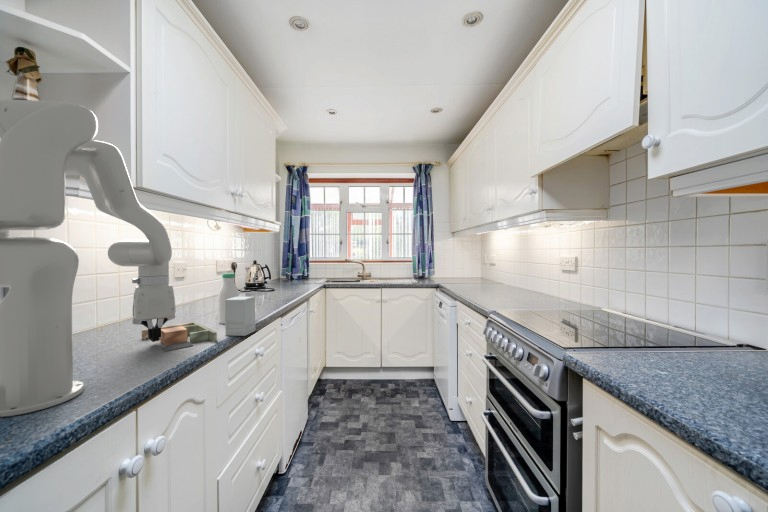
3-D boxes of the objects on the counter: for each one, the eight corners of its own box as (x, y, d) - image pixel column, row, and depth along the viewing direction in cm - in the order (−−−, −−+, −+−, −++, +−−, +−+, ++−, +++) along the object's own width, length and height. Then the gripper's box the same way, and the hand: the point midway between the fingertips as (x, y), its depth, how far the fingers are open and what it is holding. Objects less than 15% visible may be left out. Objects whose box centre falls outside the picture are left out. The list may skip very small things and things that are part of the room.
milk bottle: (240, 322, 122) (239, 273, 122) (218, 325, 118) (218, 274, 118) (238, 319, 129) (238, 272, 129) (217, 321, 125) (217, 273, 125)
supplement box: (256, 330, 110) (256, 296, 110) (244, 336, 103) (244, 299, 102) (237, 330, 111) (236, 296, 111) (224, 335, 103) (224, 299, 103)
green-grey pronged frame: (157, 353, 85) (157, 343, 85) (141, 339, 99) (141, 330, 99) (216, 341, 97) (216, 332, 97) (194, 330, 111) (194, 321, 111)
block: (164, 345, 93) (164, 332, 93) (160, 341, 97) (160, 329, 97) (187, 341, 97) (187, 329, 97) (182, 337, 101) (182, 326, 101)
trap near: (165, 351, 87) (165, 350, 87) (161, 348, 90) (161, 347, 90) (193, 346, 92) (193, 345, 92) (188, 343, 95) (188, 342, 95)
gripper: (124, 284, 85) (125, 349, 85) (185, 280, 96) (186, 337, 96) (120, 282, 90) (120, 343, 90) (178, 279, 101) (179, 333, 101)
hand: (154, 340), depth 93 cm, fingers closed
